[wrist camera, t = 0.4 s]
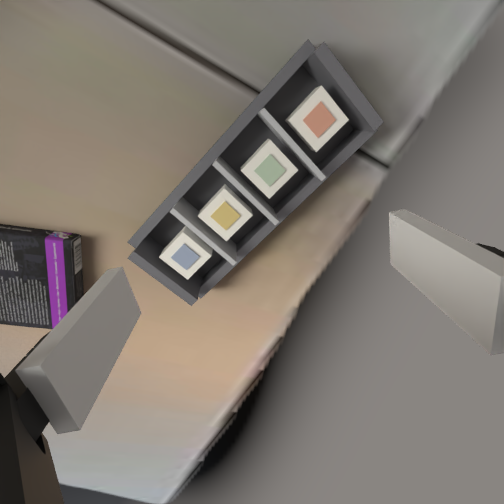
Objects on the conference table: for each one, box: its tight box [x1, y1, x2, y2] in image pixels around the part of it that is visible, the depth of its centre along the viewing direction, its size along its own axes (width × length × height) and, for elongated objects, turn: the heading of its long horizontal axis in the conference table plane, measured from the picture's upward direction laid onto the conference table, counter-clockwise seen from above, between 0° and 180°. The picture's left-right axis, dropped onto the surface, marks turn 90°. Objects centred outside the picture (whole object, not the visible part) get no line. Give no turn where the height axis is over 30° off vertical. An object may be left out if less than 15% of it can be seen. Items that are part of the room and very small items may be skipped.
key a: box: [240, 139, 298, 199], centre depth 34 cm, size 4×4×3 cm
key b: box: [159, 226, 213, 280], centre depth 37 cm, size 4×4×3 cm
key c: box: [285, 85, 349, 152], centre depth 32 cm, size 4×4×3 cm
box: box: [0, 224, 84, 329], centre depth 40 cm, size 14×4×20 cm
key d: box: [198, 184, 253, 241], centre depth 35 cm, size 4×4×3 cm
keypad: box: [128, 39, 384, 306], centre depth 36 cm, size 12×30×6 cm, turn 135°
